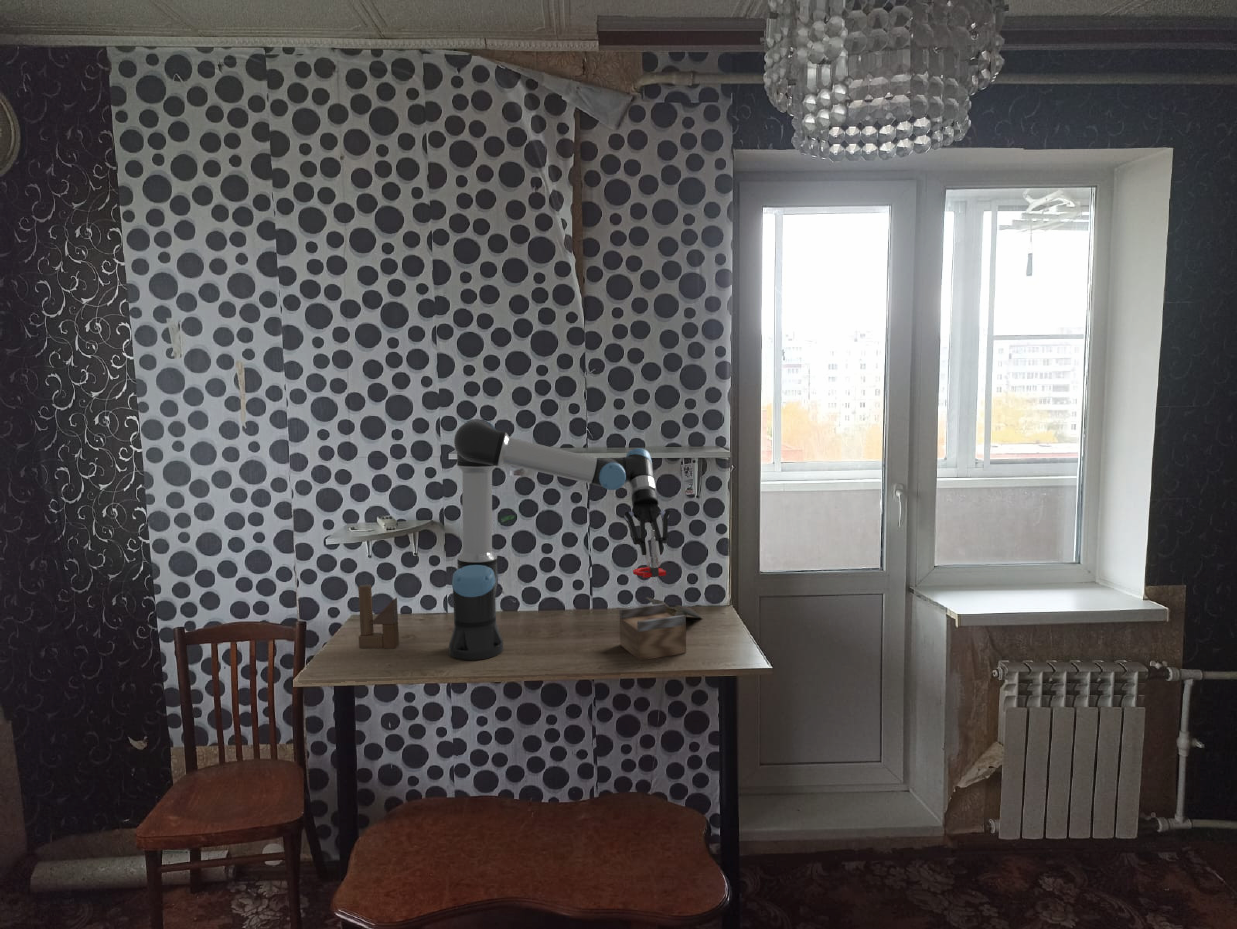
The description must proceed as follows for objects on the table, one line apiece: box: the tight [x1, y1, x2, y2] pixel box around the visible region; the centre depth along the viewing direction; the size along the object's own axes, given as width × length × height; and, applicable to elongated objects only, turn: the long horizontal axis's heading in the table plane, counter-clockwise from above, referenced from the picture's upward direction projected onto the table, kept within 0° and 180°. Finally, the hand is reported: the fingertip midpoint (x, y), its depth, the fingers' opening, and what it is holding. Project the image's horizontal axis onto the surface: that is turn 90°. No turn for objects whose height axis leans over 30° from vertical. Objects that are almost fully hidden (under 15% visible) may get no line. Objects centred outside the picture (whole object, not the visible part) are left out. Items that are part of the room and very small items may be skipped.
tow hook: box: [632, 529, 667, 579], centre depth 219 cm, size 8×13×9 cm
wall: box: [645, 596, 702, 619], centre depth 245 cm, size 16×9×15 cm
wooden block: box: [357, 584, 400, 649], centre depth 227 cm, size 4×11×18 cm, turn 86°
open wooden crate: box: [619, 602, 687, 661], centre depth 221 cm, size 14×14×10 cm
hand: (654, 563), depth 215 cm, fingers closed on tow hook, 2 cm apart
